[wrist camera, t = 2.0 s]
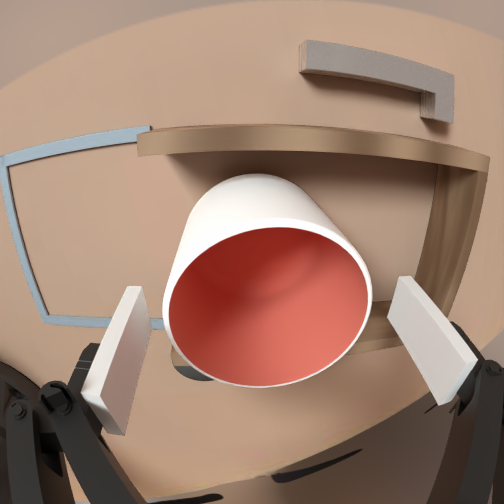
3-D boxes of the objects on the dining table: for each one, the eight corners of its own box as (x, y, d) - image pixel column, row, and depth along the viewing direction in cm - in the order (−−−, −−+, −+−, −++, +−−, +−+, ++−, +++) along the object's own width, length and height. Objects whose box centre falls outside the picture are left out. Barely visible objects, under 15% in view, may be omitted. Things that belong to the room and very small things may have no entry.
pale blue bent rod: (44, 321, 25) (43, 323, 24) (-2, 156, 17) (-3, 157, 17) (175, 327, 26) (174, 328, 25) (150, 125, 18) (149, 125, 18)
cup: (197, 158, 19) (171, 199, 11) (334, 185, 21) (404, 242, 12) (180, 282, 24) (160, 379, 15) (298, 298, 25) (330, 390, 16)
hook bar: (298, 99, 18) (306, 98, 16) (298, 46, 16) (305, 39, 15) (438, 121, 19) (453, 123, 17) (439, 75, 17) (454, 75, 15)
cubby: (180, 324, 26) (173, 365, 21) (157, 129, 18) (136, 134, 14) (414, 306, 27) (438, 337, 23) (450, 144, 20) (490, 157, 15)
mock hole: (177, 379, 29) (177, 380, 29) (167, 339, 26) (166, 340, 26) (233, 378, 29) (234, 380, 29) (231, 338, 27) (231, 339, 26)
